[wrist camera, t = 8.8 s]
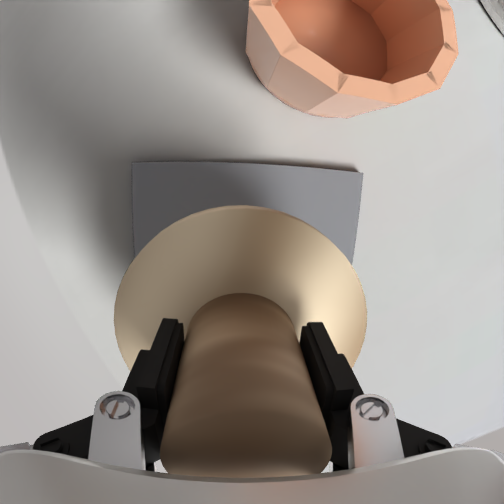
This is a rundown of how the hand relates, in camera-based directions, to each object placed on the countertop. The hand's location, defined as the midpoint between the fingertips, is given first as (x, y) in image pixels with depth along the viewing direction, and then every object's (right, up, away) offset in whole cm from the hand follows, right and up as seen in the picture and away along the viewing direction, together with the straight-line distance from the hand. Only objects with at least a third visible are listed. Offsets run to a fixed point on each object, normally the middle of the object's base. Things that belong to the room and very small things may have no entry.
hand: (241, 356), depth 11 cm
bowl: (+5, +16, +4) cm, 17 cm away
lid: (0, +1, +2) cm, 2 cm away
